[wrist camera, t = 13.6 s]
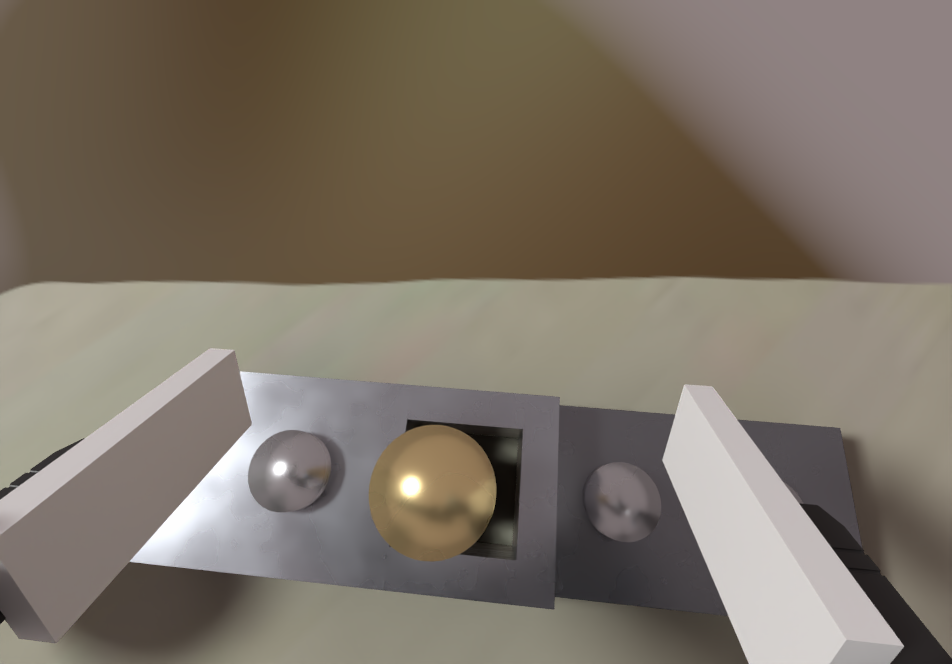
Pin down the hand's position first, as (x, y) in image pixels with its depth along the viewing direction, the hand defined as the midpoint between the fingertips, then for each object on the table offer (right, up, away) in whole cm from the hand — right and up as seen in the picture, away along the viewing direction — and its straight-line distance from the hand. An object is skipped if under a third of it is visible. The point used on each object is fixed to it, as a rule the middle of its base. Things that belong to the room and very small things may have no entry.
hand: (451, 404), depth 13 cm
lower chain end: (+7, -6, +8) cm, 12 cm away
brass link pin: (0, -6, +9) cm, 10 cm away
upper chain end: (-4, -5, +9) cm, 11 cm away
